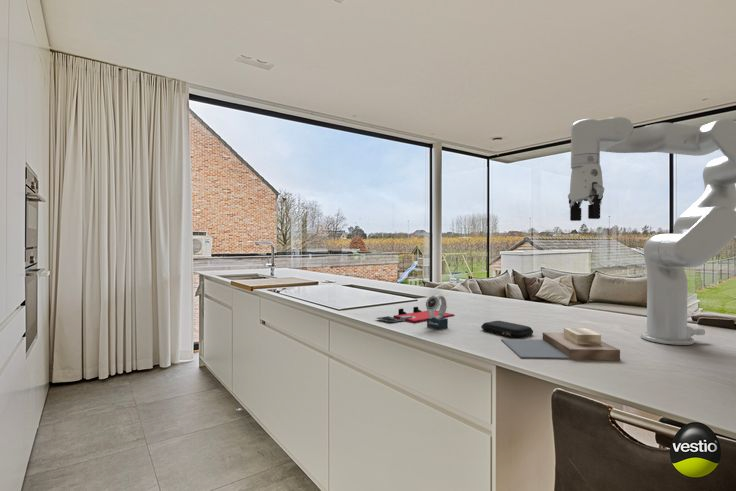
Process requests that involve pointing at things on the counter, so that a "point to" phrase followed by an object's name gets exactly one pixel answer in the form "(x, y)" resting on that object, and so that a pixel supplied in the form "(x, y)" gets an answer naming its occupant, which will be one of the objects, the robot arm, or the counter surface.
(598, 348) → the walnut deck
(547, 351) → the rubber mat
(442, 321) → the watch
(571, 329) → the birch tile
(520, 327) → the carrying case or bag
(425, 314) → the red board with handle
